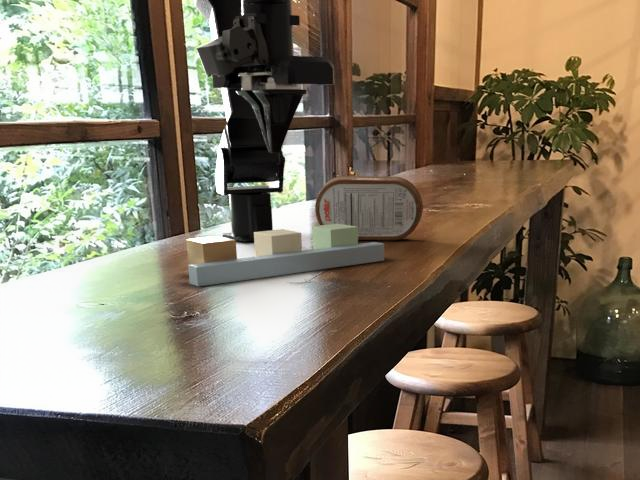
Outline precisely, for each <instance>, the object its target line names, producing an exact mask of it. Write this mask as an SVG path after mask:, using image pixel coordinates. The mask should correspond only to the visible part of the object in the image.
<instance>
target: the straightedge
mask: <svg viewBox="0 0 640 480" xmlns="http://www.w3.org/2000/svg"><path fill="white" fill-rule="evenodd" d="M384 261H385V243H383V242H377V241H370V242H364V243H363V242H362V243H358V244H354V245H345V246H337V247H329V248H321V249H313V248H312V249H305V250H302V251H297V252H288V253H280V254H272V255H264V256H256V257H255V256H248V257H241V258H237V259H231V260H223V261H215V262H207V263H199V264H191V265H189V264H188V265H187V269H188V276H189V278H188V279H189V284H190V285H192V286H195V287H197V288H199V287H205V286H211V285H219V284H226V283H234V282H242V281H248V280H255V279H256V280H257V279H263V278H269V277H270V278H271V277H276V276H284V275H290V274H291V275H292V274H299V273H306V272H313V271H319V270H326V269H334V268H341V267H349V266H355V265H363V264H369V263H377V262H384Z"/></svg>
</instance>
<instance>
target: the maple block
mask: <svg viewBox="0 0 640 480" xmlns="http://www.w3.org/2000/svg"><path fill="white" fill-rule="evenodd" d="M185 241H186V249H187V250H186V251H187V261H188V265H191V264H199V263H207V262H215V261H223V260H231V259H238V254H237V253H238V251H237V240H234V239H229V238H225V237H223V236H221V235H215V236H205V237H195V238H186V240H185Z"/></svg>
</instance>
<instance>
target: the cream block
mask: <svg viewBox="0 0 640 480" xmlns="http://www.w3.org/2000/svg"><path fill="white" fill-rule="evenodd" d="M302 241H303V239H302V232H300V231H294V230H290V229H283V228H281V229H280V228H279V229H273V230H270V231H261V232H254V241H253V242H254V257H256V256H264V255H272V254H280V253H288V252H297V251H303V246H302V245H303V243H302Z"/></svg>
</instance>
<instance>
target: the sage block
mask: <svg viewBox="0 0 640 480" xmlns="http://www.w3.org/2000/svg"><path fill="white" fill-rule="evenodd" d="M311 231H312V232H311V233H312V234H311V235H312V250H313V249H321V248H329V247H337V246H345V245H354V244H359V240H358V227H356V226H350V225H344V224H330V225H313V226H311Z"/></svg>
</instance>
